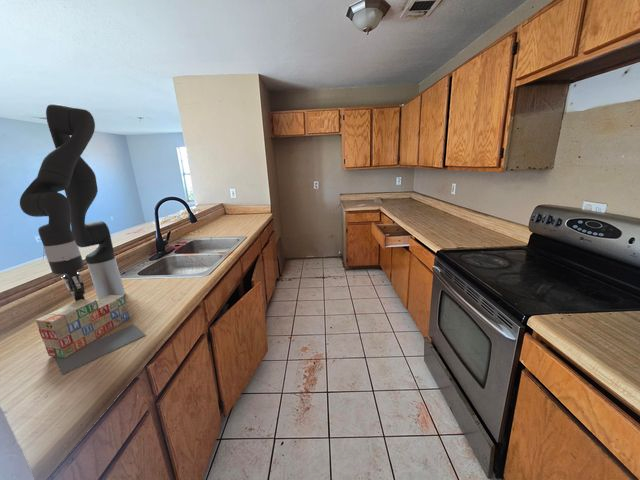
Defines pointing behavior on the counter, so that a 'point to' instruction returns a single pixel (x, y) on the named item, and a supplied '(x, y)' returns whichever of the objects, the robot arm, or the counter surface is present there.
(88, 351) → the mat
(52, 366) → the counter surface
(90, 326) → the stack of blocks
